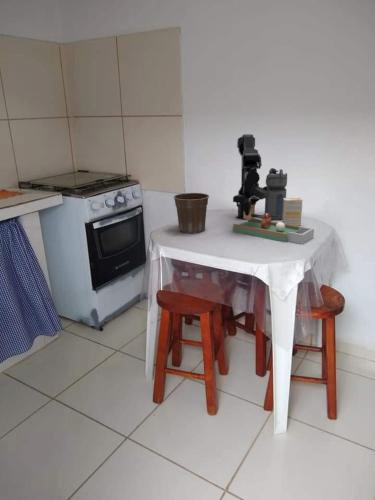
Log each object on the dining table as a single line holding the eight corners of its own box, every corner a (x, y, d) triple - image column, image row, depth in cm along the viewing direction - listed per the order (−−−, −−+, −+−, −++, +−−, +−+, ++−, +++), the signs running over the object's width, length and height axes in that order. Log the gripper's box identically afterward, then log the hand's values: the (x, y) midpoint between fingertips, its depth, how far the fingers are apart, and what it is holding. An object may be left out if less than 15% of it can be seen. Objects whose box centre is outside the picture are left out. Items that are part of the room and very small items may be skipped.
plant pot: (173, 225, 192) (172, 193, 186) (206, 224, 193) (206, 191, 188) (175, 235, 177) (174, 200, 171) (211, 234, 178) (211, 198, 172)
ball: (273, 231, 173) (274, 222, 171) (278, 229, 176) (278, 220, 174) (282, 232, 170) (282, 224, 169) (286, 230, 173) (286, 222, 172)
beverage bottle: (277, 213, 210) (280, 165, 201) (288, 219, 197) (292, 169, 189) (259, 214, 208) (261, 166, 199) (269, 221, 196) (272, 170, 187)
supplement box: (299, 224, 189) (301, 197, 185) (300, 227, 185) (302, 199, 181) (281, 224, 190) (283, 197, 186) (282, 227, 186) (284, 199, 181)
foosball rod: (242, 224, 182) (242, 204, 179) (247, 222, 186) (248, 202, 182) (265, 228, 175) (266, 208, 171) (270, 226, 178) (271, 205, 175)
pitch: (232, 231, 181) (233, 223, 179) (249, 224, 191) (249, 216, 189) (300, 245, 161) (301, 235, 159) (314, 236, 171) (315, 227, 169)
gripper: (254, 185, 164) (253, 221, 169) (276, 179, 178) (274, 213, 183) (232, 183, 171) (231, 218, 176) (255, 177, 184) (253, 209, 190)
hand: (249, 214), depth 181 cm, fingers closed on foosball rod, 3 cm apart
